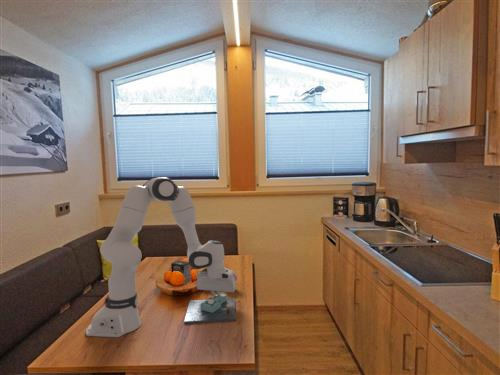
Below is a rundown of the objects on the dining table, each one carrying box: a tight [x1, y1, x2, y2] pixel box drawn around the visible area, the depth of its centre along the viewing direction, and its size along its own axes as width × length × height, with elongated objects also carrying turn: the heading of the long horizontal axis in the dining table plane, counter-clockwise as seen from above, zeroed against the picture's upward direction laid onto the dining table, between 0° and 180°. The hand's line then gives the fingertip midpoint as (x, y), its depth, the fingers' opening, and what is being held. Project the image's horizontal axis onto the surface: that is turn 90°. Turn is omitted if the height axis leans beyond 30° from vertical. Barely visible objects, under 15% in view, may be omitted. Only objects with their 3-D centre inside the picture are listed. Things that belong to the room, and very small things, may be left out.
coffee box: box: [170, 260, 192, 285], centre depth 183 cm, size 9×6×16 cm
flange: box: [201, 293, 228, 313], centre depth 160 cm, size 14×7×3 cm, turn 149°
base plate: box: [183, 297, 237, 325], centre depth 157 cm, size 23×22×6 cm
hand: (216, 298), depth 165 cm, fingers closed
